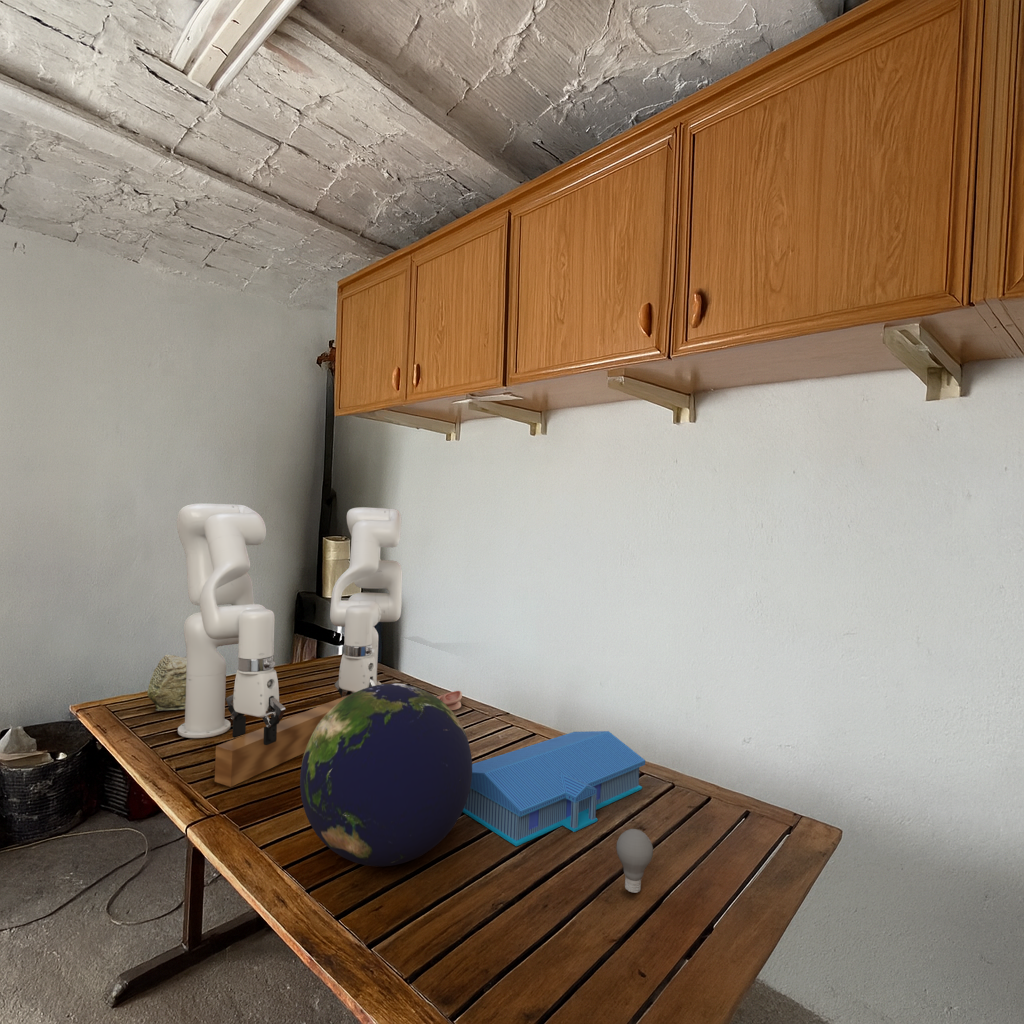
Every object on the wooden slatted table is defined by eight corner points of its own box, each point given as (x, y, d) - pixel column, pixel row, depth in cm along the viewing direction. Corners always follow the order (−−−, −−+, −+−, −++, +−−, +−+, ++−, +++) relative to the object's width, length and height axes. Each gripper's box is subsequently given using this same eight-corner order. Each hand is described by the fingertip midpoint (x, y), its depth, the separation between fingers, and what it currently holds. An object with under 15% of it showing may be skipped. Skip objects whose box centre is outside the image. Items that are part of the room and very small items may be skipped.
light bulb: (610, 879, 108) (613, 822, 108) (644, 879, 109) (647, 822, 109) (619, 902, 102) (622, 840, 102) (655, 901, 103) (658, 840, 103)
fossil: (144, 707, 182) (145, 655, 182) (212, 696, 194) (213, 647, 194) (151, 716, 175) (153, 662, 175) (221, 703, 188) (223, 653, 188)
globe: (257, 876, 105) (264, 696, 104) (364, 800, 133) (370, 657, 132) (413, 929, 94) (422, 728, 93) (494, 834, 121) (501, 678, 121)
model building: (528, 854, 115) (530, 799, 115) (447, 802, 133) (449, 755, 133) (654, 793, 142) (656, 749, 141) (573, 757, 160) (574, 718, 159)
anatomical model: (412, 696, 190) (425, 685, 201) (412, 709, 190) (424, 698, 201) (455, 701, 187) (465, 690, 199) (454, 714, 188) (465, 702, 199)
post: (230, 787, 136) (231, 750, 136) (214, 781, 138) (215, 746, 138) (380, 717, 183) (381, 690, 183) (366, 714, 185) (367, 687, 185)
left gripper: (296, 665, 143) (295, 740, 143) (242, 656, 151) (240, 728, 151) (271, 672, 137) (269, 751, 137) (215, 662, 144) (213, 738, 144)
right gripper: (391, 652, 176) (388, 716, 176) (343, 643, 183) (340, 705, 184) (374, 657, 169) (371, 725, 170) (324, 648, 177) (322, 713, 177)
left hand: (254, 739), depth 144 cm, fingers open, 9 cm apart
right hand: (355, 714), depth 177 cm, fingers closed on post, 5 cm apart
